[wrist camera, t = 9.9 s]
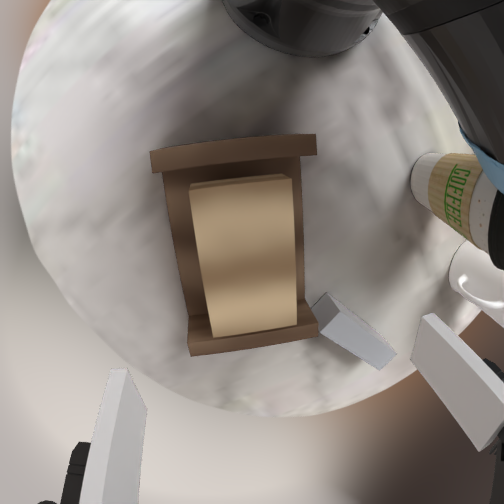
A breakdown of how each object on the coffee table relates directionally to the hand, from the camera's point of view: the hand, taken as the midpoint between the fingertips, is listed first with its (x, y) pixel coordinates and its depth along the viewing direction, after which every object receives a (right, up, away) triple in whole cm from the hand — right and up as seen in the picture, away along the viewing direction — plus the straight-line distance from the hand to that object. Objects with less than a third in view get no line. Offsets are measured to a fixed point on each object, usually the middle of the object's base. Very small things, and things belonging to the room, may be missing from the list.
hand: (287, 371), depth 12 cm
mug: (+27, +3, +23) cm, 36 cm away
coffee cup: (+19, +13, +18) cm, 29 cm away
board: (-2, +5, +13) cm, 14 cm away
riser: (+10, -4, +23) cm, 25 cm away
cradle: (-3, +7, +17) cm, 18 cm away
